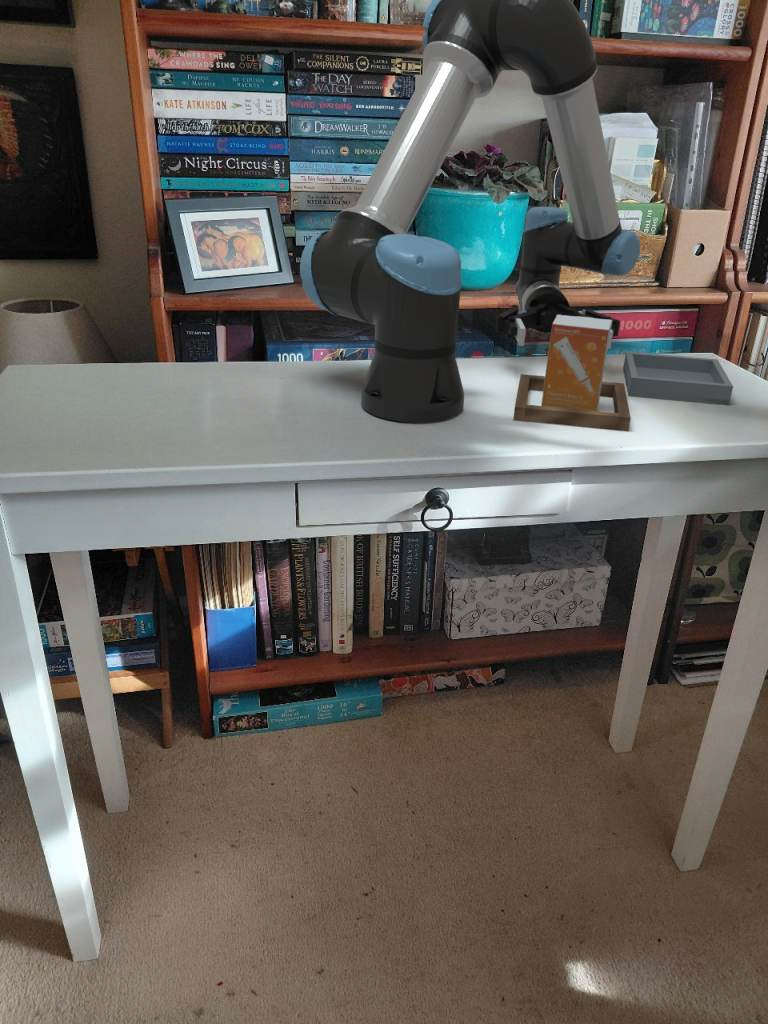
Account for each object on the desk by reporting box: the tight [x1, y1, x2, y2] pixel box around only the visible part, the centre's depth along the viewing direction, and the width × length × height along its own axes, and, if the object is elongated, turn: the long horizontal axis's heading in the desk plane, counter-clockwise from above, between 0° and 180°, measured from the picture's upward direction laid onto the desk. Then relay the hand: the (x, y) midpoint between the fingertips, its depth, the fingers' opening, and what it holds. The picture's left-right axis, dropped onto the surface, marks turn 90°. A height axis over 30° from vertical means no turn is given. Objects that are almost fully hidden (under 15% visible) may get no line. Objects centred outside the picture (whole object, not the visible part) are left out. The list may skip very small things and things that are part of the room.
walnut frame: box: [512, 373, 631, 432], centre depth 123 cm, size 16×16×2 cm
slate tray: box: [622, 351, 734, 406], centre depth 133 cm, size 15×15×3 cm
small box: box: [540, 315, 612, 411], centre depth 120 cm, size 8×6×13 cm
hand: (565, 338), depth 129 cm, fingers open, 13 cm apart
